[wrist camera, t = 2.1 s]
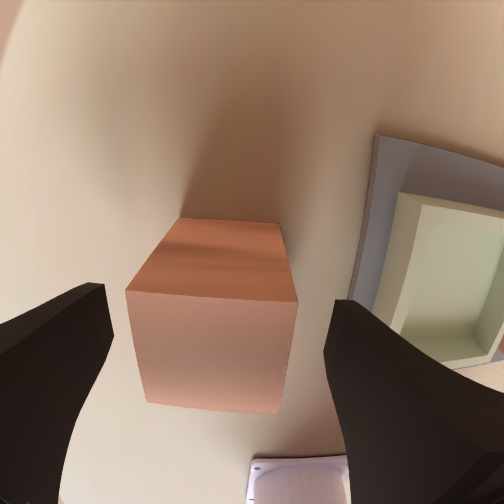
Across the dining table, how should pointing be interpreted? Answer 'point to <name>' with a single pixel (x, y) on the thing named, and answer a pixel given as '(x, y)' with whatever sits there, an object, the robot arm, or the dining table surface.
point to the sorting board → (434, 251)
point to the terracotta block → (214, 316)
